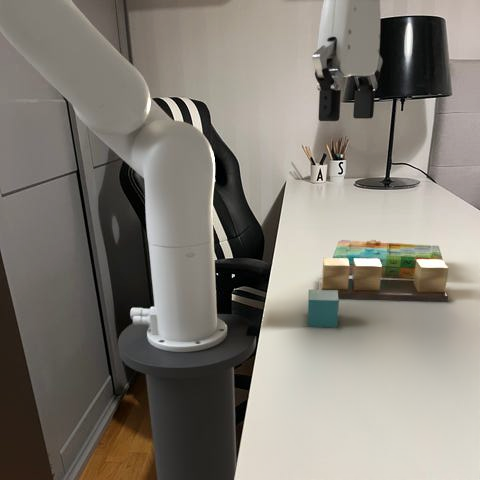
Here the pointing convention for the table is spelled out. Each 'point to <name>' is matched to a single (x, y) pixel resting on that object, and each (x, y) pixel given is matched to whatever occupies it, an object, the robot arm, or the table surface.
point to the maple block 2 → (366, 274)
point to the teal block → (323, 308)
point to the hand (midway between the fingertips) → (346, 119)
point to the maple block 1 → (335, 273)
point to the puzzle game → (388, 255)
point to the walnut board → (389, 292)
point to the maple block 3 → (430, 275)
